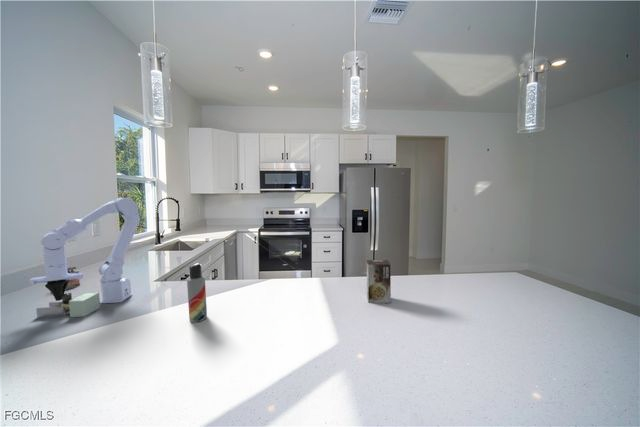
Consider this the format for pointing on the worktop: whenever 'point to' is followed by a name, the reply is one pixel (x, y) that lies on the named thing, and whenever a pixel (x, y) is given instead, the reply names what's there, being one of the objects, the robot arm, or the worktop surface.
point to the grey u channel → (52, 310)
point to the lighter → (76, 281)
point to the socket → (84, 304)
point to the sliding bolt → (66, 300)
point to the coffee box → (378, 281)
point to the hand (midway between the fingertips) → (59, 299)
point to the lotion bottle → (196, 294)
